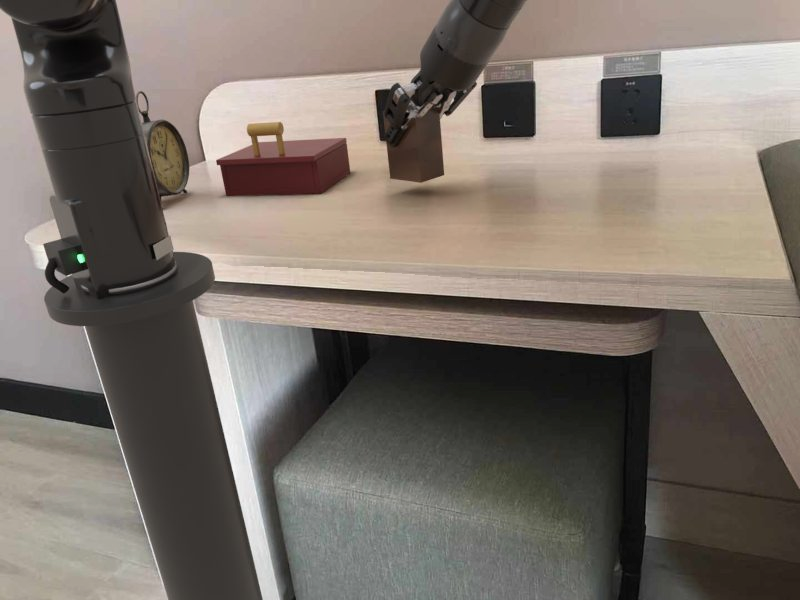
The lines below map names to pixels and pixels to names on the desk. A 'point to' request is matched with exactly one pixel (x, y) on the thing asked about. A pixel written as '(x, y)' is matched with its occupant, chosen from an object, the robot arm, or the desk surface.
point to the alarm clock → (166, 154)
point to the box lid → (279, 147)
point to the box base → (287, 176)
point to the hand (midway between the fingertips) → (403, 138)
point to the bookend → (418, 150)
